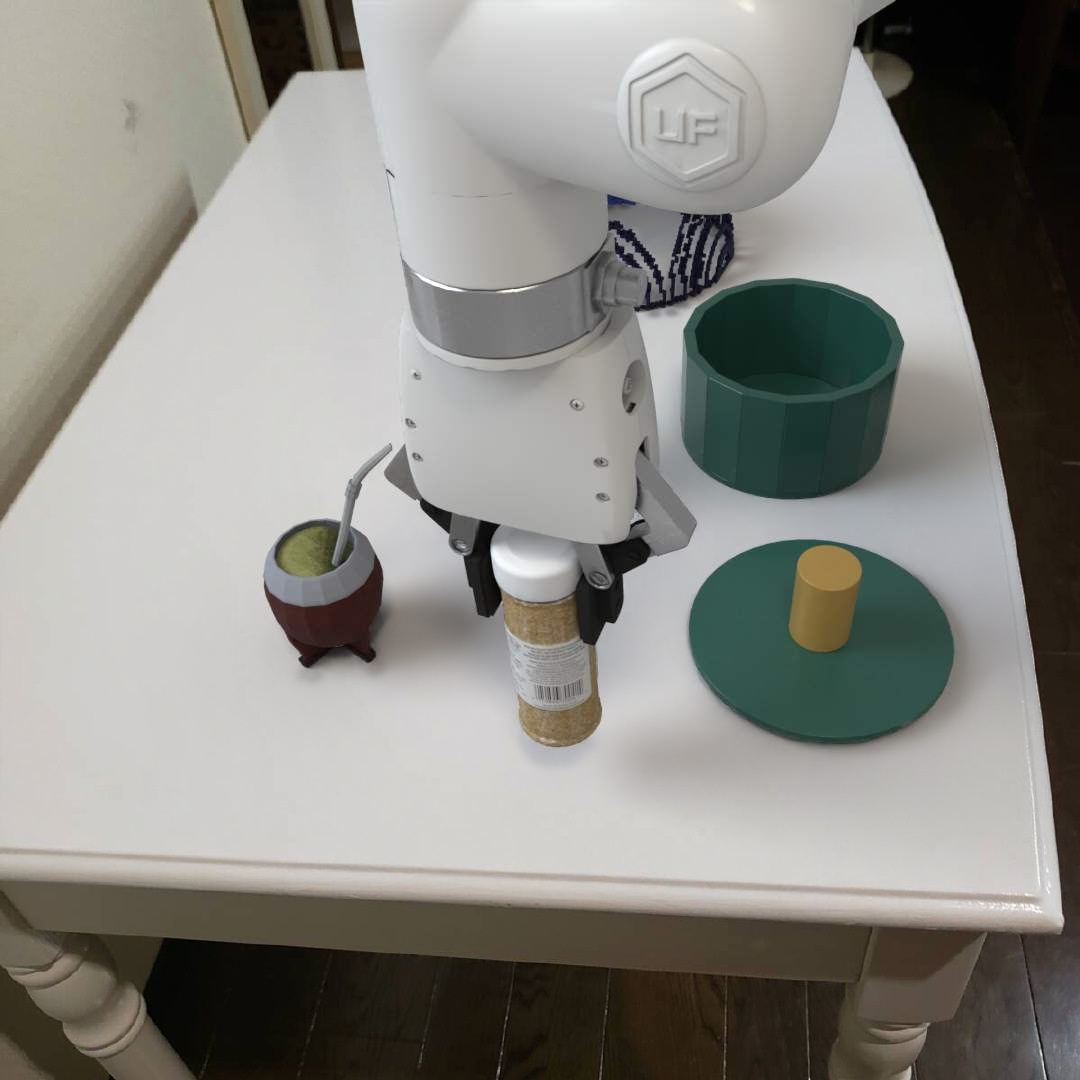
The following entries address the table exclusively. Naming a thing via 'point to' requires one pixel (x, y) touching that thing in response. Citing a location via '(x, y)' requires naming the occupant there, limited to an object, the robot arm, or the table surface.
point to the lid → (821, 641)
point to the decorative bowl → (697, 264)
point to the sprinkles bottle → (546, 636)
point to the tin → (788, 386)
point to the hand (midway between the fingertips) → (546, 606)
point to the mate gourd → (327, 581)
